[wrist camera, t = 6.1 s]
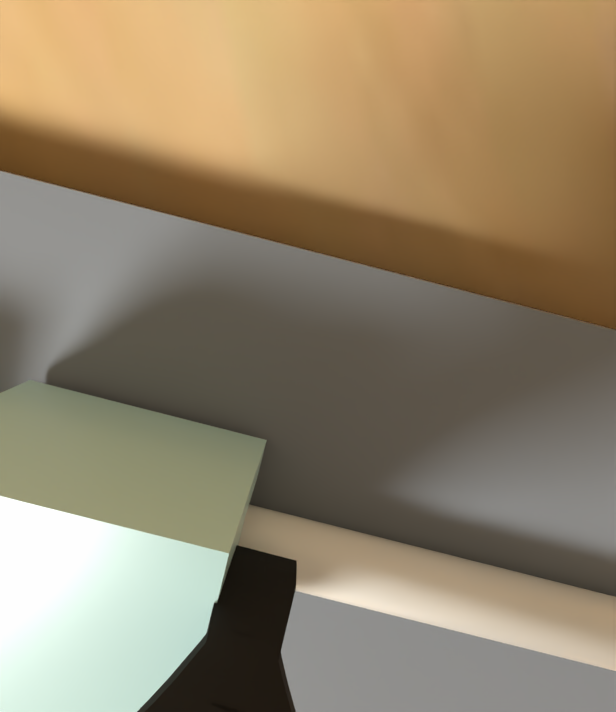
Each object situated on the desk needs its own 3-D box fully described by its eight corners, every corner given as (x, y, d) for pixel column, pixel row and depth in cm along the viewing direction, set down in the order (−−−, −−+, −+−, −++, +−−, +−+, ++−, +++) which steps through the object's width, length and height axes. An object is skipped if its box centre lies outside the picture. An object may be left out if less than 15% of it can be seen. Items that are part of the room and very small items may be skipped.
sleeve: (268, 435, 10) (229, 552, 6) (223, 612, 11) (166, 810, 7) (31, 375, 10) (-160, 456, 6) (7, 558, 11) (-169, 728, 7)
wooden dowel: (653, 567, 11) (731, 644, 9) (616, 646, 12) (682, 737, 9) (-166, 360, 11) (-290, 387, 9) (-169, 449, 11) (-287, 496, 9)
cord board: (730, 359, 11) (791, 375, 10) (544, 760, 14) (569, 822, 12) (-133, 135, 11) (-206, 117, 9) (-153, 588, 13) (-211, 630, 12)
